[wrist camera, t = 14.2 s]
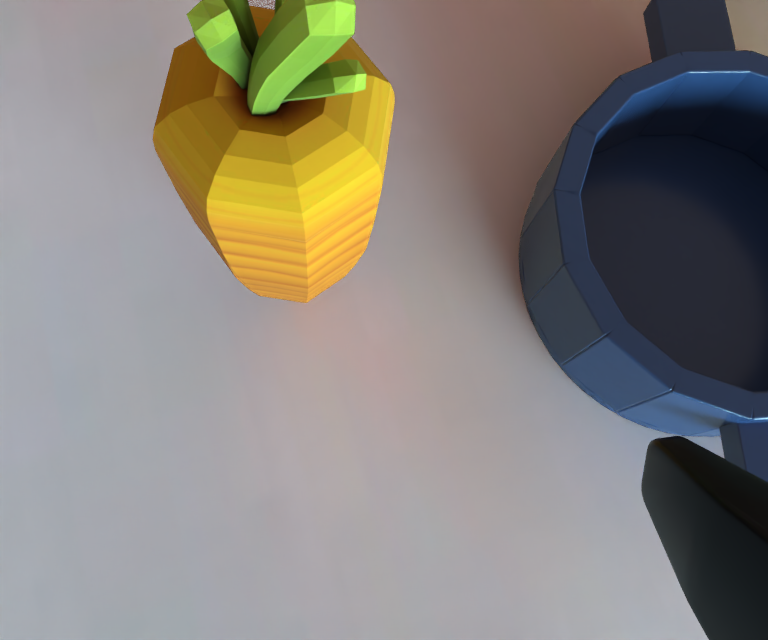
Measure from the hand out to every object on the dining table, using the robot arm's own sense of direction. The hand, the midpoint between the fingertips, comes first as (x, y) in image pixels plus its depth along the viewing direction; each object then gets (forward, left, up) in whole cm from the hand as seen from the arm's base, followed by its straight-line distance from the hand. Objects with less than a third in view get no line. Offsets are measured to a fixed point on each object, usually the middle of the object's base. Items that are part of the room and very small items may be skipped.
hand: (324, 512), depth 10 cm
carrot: (+7, +4, -14) cm, 16 cm away
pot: (+13, -8, -13) cm, 20 cm away
